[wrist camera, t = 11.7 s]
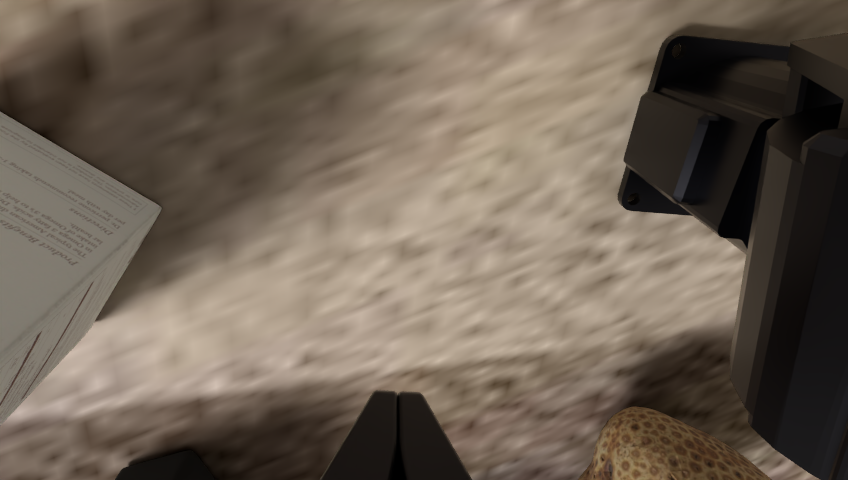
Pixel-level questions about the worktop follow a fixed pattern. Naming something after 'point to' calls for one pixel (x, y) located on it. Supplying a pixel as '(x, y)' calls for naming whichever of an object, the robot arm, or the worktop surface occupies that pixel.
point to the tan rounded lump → (663, 451)
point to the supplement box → (56, 253)
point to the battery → (168, 469)
